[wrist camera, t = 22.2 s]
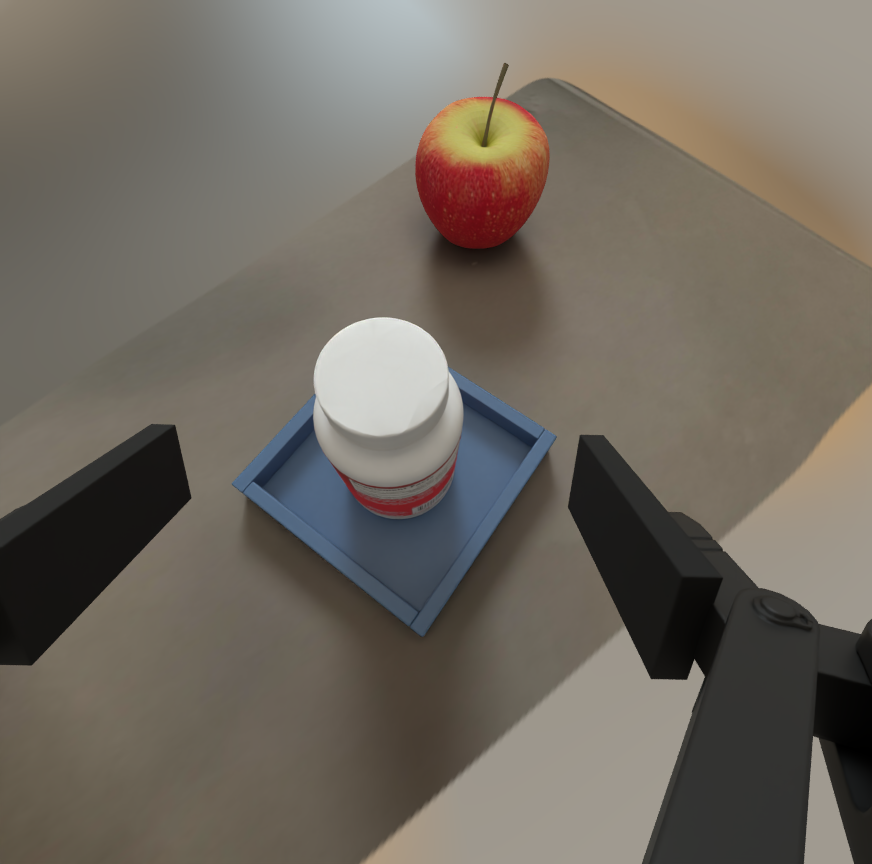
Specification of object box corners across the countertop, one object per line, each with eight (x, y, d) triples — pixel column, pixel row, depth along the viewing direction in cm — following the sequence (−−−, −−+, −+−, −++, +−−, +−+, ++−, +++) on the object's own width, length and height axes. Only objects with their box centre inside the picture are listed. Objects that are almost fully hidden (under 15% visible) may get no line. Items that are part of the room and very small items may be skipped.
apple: (548, 213, 34) (594, 62, 24) (497, 291, 31) (527, 155, 22) (453, 172, 35) (463, 16, 26) (396, 244, 32) (384, 97, 23)
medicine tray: (548, 448, 27) (557, 436, 25) (423, 635, 23) (422, 638, 21) (383, 341, 29) (380, 322, 27) (245, 493, 25) (230, 483, 24)
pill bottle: (359, 411, 27) (316, 288, 17) (460, 426, 27) (480, 310, 16) (335, 513, 24) (267, 443, 14) (445, 530, 24) (458, 472, 14)
